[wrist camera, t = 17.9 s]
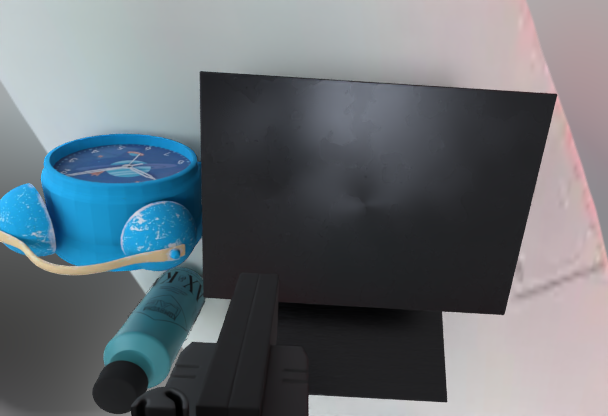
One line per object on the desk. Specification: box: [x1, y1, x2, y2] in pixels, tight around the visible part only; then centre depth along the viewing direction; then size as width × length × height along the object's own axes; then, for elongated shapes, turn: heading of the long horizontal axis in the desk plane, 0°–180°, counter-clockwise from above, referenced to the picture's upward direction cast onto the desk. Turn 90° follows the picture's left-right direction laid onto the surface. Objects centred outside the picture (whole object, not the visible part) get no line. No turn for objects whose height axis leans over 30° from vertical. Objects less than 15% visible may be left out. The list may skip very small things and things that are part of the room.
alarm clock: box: [0, 134, 202, 275], centre depth 38 cm, size 17×10×20 cm, turn 83°
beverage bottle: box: [93, 267, 205, 414], centre depth 43 cm, size 6×7×20 cm
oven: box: [200, 71, 557, 315], centre depth 38 cm, size 17×24×19 cm
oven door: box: [276, 302, 447, 402], centre depth 49 cm, size 8×24×17 cm
